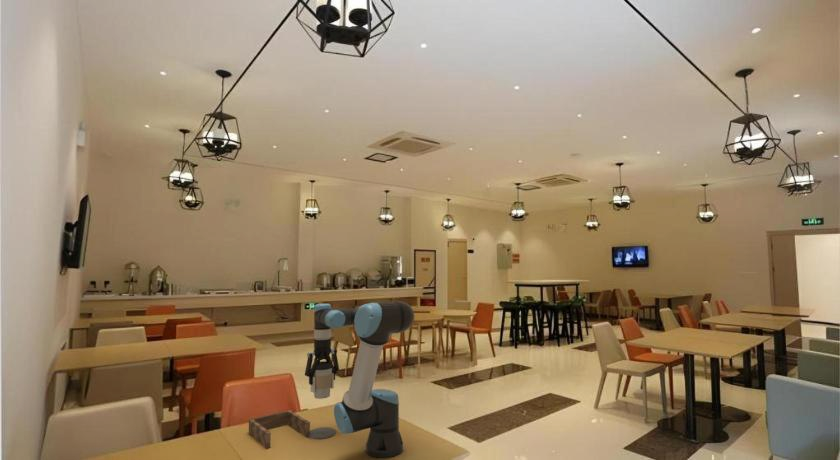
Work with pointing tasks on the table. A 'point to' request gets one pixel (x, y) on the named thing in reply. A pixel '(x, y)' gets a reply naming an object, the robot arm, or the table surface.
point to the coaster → (322, 433)
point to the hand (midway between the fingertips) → (322, 389)
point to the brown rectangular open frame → (276, 425)
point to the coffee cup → (323, 380)
